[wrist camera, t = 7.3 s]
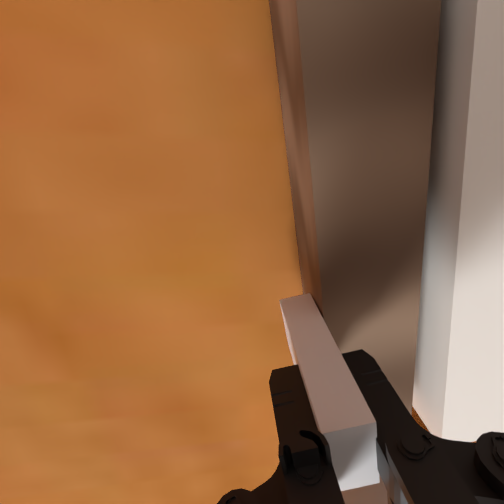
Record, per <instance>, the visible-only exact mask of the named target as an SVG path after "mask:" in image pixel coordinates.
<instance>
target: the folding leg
mask: <svg viewBox="0 0 504 504" xmlns="http://www.w3.org/2000/svg"><path fill="white" fill-rule="evenodd" d="M269 5H270V13H271V22H272V30H273V39H274V48H275V56H276V65H277V73H278V82H279V90H280V99H281V107H282V116H283V125H284V133H285V142H286V150H287V159H288V167H289V176H290V185H291V193H292V202H293V210H294V219H295V227H296V236H297V244H298V253H299V262H300V270H301V279H302V287H303V294H307V293H310V294H311V296H312V298H313V300H314V302H315V304H316V306H317V308H318V310H319V312H320V314H321V316H322V317H323V319H324V321H325V323H326V325H327V327H328V329H329V331H330V333H331V335H332V337H333V339H334V341H335V343H336V345H337V347H338V349H339V350H340V352H341V354H342V353H347V352H351V351H356V350H360V349H363V350H364V351H365V352H367V353H368V354H369V355H371V356H372V357H373V358H374V359H375V360H376V362H377V363H378V365H379V367H380V368H381V370H382V371H383V373H384V374H385V376H386V377H387V379H388V381H389V382H390V384H391V385H392V387H393V388H394V390H395V391H396V393H397V394H398V396H399V397H400V399H401V400H402V402H403V404H404V405H405V407H406V408H407V410H408V411H409V413H410V414H411V416H412V402H413V388H414V374H415V360H416V346H417V332H418V318H419V304H420V290H421V276H422V263H423V249H424V235H425V221H426V207H427V193H428V179H429V165H430V151H431V137H432V123H433V109H434V96H435V82H436V68H437V54H438V40H439V26H440V12H441V0H269Z"/></svg>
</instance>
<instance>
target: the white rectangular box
mask: <svg viewBox="0 0 504 504" xmlns="http://www.w3.org/2000/svg"><path fill="white" fill-rule="evenodd" d="M412 406H413V408H414V409H415V411H416V412H417V414H418V415H419V417H420V418H421V420H422V421H423V423H424V424H425V426H426V427H427V429H428V430H429V432H430V433H431V434H432V435H435V436H437V437H440V438H443V439H448V440H454V441H463V442H473V441H477V439H478V438H479V437H480V436H481V435H482V434H484V433H487V432H491V431H493V432H502V433H504V0H441V12H440V26H439V40H438V54H437V68H436V82H435V96H434V109H433V123H432V137H431V151H430V165H429V179H428V193H427V207H426V221H425V235H424V249H423V263H422V276H421V290H420V304H419V318H418V332H417V346H416V360H415V374H414V388H413V402H412Z"/></svg>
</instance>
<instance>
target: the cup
mask: <svg viewBox="0 0 504 504" xmlns="http://www.w3.org/2000/svg"><path fill="white" fill-rule="evenodd" d="M379 479H380V483H377V484H372V485H368V486H363V487H359V488H354V489H349V490H345V491H341V493H342V496H343V499H344V502H345V504H388V498H387V490H386V487H385V485H384V483H383V481H382V478H381V476H380V474H379Z"/></svg>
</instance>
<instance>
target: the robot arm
mask: <svg viewBox="0 0 504 504" xmlns="http://www.w3.org/2000/svg"><path fill="white" fill-rule="evenodd" d="M279 301H280V306H281V310H282V315H283V320H284V325H285V330H286V335H287V340H288V345H289V348H290V352H291V355H292V359H293V362H294V365H292V366H288V367H284V368H279V369H275V370H272V373H271V377H270V380H269V385H270V391H271V396H272V402H273V408H274V414H275V420H276V426H277V432H278V437H279V443H280V444H279V460H280V462H279V465H278V467H277V470H276V471H275V473H274V474H273V475H272V477H271V478H270V479H268V480H267V481H266V482H265V483H263V484H262V485H260V486H259V487H257V488H256V489H254V490H253V491H248V490H245V489H242V488H241V489H236V490H231V491H230V492H228V493H227V494H225V495H224V496H223V497H222V498H221V499H220V501H219V502H218V503H217V504H345V502H344V499H343V496H342V493H341V491H345V490H349V489H354V488H359V487H363V486H368V485H372V484H377V483H380V479H379V474H380V476H381V478H382V481H383V483H384V485H385V487H386V490H387V498H388V504H504V433H502V432H493V431H491V432H487V433H484V434H482V435H481V436H480V437H479V438H478V439H477V441H476V443H472V442H463V441H454V440H448V439H443V438H440V437H437V436H435V435H432V434H431V433H429V432H428V431H426V430H425V429H423V428H422V427H421V426H420V425H418V424H417V422H416V421H415V420H414V419H413V417H412V416H411V414H410V413H409V411H408V410H407V408H406V407H405V405H404V404H403V402H402V400H401V399H400V397H399V396H398V394H397V393H396V391H395V390H394V388H393V387H392V385H391V384H390V382H389V381H388V379H387V377H386V376H385V374H384V373H383V371H382V370H381V368H380V367H379V365H378V363H377V362H376V360H375V359H374V358H373V357H372V356H371V355H369V354H368V353H367V352H365V351H364V350H363V349H360V350H356V351H351V352H347V353H342V354H341V352H340V350H339V349H338V347H337V345H336V343H335V341H334V339H333V337H332V335H331V333H330V331H329V329H328V327H327V325H326V323H325V321H324V319H323V317H322V316H321V314H320V312H319V310H318V308H317V306H316V304H315V302H314V300H313V298H312V296H311V294H310V293H307V294H303V295H299V296H294V297H290V298H285V299H281V300H279Z"/></svg>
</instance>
